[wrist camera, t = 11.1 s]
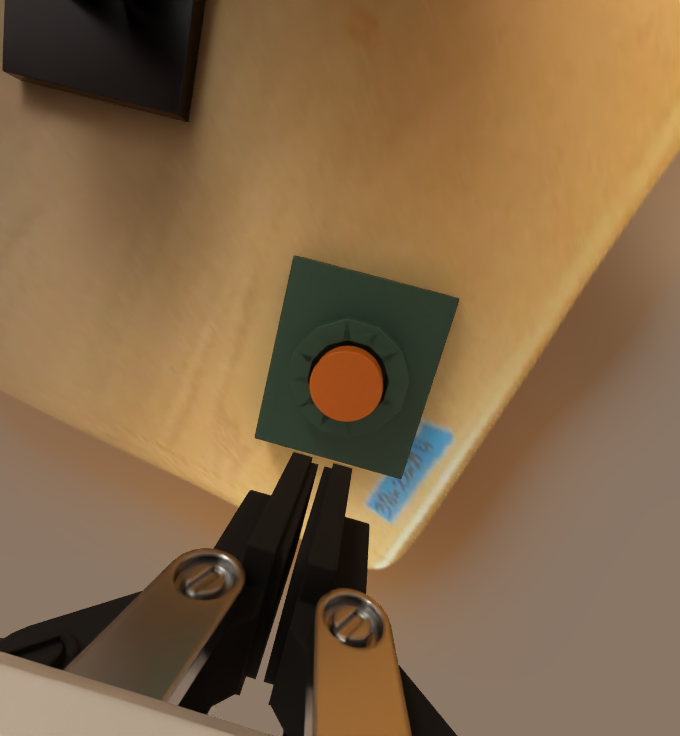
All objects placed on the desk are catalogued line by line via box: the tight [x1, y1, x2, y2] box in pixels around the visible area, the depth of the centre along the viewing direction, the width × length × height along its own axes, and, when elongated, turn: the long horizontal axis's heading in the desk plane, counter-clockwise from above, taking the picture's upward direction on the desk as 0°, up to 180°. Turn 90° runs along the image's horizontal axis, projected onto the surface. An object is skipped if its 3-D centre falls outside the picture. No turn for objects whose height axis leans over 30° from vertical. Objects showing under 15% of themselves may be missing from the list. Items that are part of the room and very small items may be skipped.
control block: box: [255, 256, 459, 479], centre depth 25 cm, size 12×10×4 cm
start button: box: [309, 346, 383, 422], centre depth 23 cm, size 4×4×2 cm
